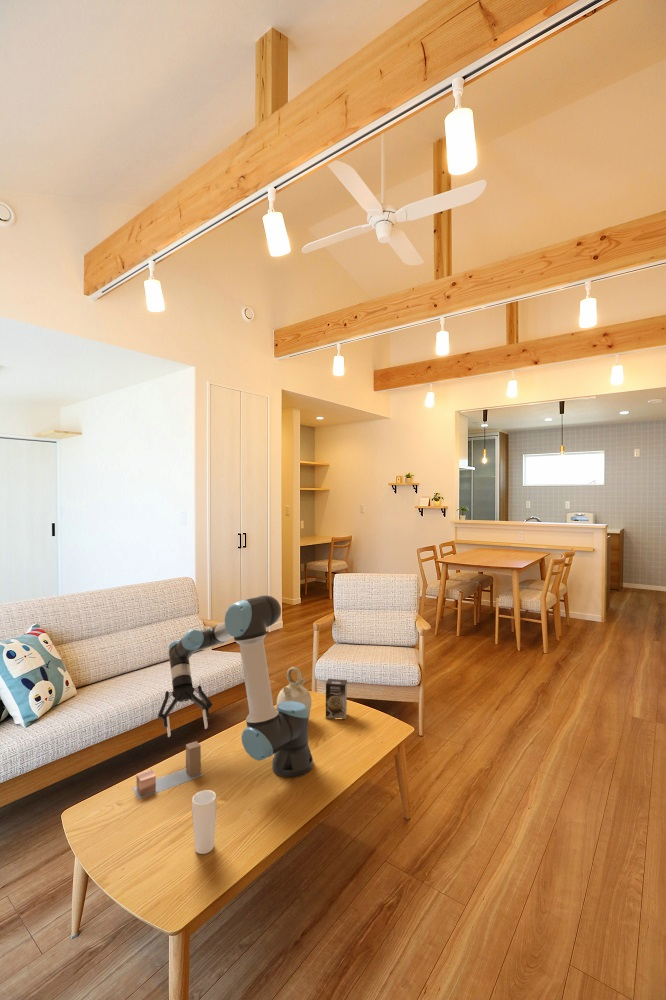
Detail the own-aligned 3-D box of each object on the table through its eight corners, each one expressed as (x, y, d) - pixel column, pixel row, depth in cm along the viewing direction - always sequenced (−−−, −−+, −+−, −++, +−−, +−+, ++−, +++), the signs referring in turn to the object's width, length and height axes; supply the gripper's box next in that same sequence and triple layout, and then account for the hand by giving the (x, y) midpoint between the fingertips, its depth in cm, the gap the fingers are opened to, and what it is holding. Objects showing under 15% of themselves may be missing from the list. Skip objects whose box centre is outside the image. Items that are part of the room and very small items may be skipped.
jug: (299, 711, 222) (299, 658, 222) (318, 724, 210) (318, 668, 209) (270, 721, 213) (270, 665, 213) (288, 735, 201) (288, 676, 200)
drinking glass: (195, 840, 140) (194, 790, 140) (218, 839, 141) (218, 789, 141) (190, 858, 134) (189, 805, 133) (214, 856, 134) (214, 804, 134)
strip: (202, 778, 170) (202, 748, 170) (138, 802, 157) (138, 769, 157) (194, 768, 177) (194, 738, 177) (132, 790, 164) (132, 758, 164)
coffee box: (325, 719, 215) (325, 683, 215) (327, 712, 221) (327, 678, 221) (345, 720, 213) (345, 684, 213) (347, 713, 220) (347, 679, 220)
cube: (155, 790, 162) (155, 775, 162) (140, 795, 159) (140, 781, 159) (151, 783, 166) (151, 768, 166) (136, 788, 163) (136, 774, 163)
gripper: (211, 676, 201) (219, 728, 188) (148, 687, 190) (152, 742, 176) (214, 668, 196) (222, 720, 183) (149, 679, 185) (153, 735, 172)
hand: (188, 731), depth 180 cm, fingers open, 13 cm apart
